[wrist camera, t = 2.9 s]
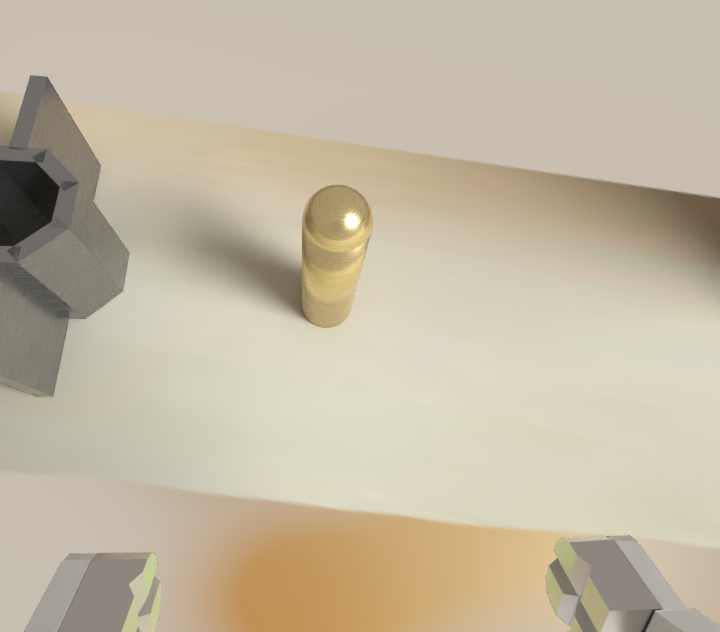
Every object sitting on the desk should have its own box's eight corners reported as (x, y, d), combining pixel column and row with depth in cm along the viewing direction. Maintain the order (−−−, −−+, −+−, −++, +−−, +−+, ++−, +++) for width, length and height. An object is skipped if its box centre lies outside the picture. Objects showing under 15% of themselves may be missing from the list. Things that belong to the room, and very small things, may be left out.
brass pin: (350, 282, 30) (376, 172, 20) (351, 328, 29) (378, 235, 19) (302, 281, 30) (303, 167, 19) (301, 327, 29) (301, 232, 18)
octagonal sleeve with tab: (143, 167, 31) (102, 80, 25) (104, 396, 26) (39, 362, 19) (43, 162, 30) (-27, 71, 24) (-18, 396, 25) (-129, 361, 19)
